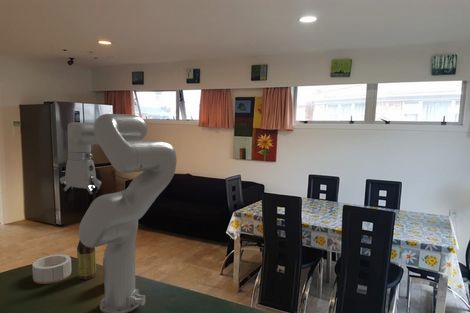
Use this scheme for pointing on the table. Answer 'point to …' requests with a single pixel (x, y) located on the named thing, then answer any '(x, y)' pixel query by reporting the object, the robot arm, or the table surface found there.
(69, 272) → the bottle holder
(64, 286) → the table surface
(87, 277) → the sauce bottle
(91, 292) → the table surface
